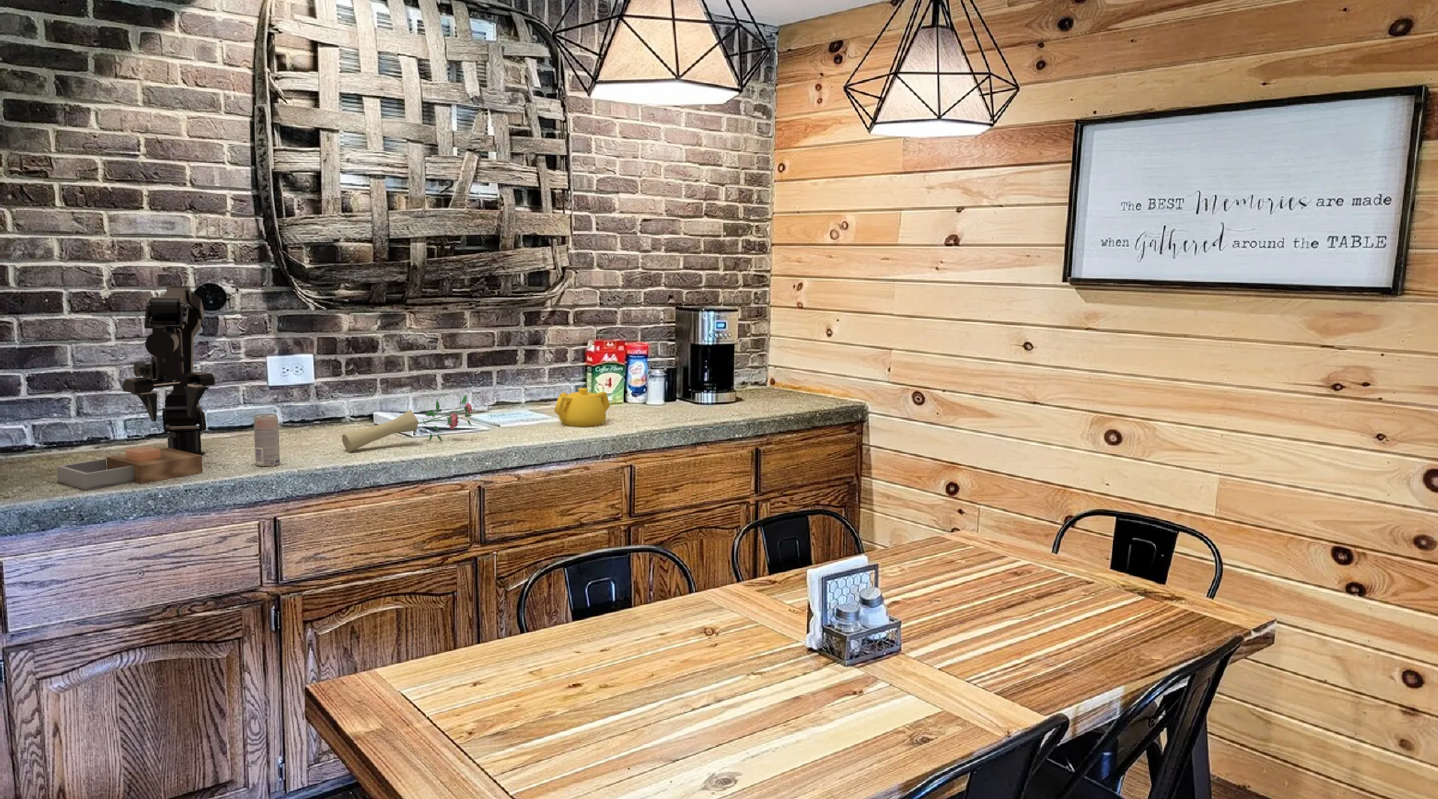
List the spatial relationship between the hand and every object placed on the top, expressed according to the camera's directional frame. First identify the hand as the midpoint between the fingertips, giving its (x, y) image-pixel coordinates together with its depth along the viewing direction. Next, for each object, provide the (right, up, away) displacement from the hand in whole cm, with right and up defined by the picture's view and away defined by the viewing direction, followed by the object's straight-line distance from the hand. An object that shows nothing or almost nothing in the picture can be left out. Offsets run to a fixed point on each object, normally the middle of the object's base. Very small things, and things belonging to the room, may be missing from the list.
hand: (172, 419), depth 233 cm
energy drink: (+18, -11, +10) cm, 23 cm away
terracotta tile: (-4, -9, -5) cm, 11 cm away
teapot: (+83, -3, +78) cm, 114 cm away
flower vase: (+43, -8, +38) cm, 58 cm away
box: (-11, -14, -11) cm, 21 cm away
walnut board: (-3, -12, -2) cm, 13 cm away
